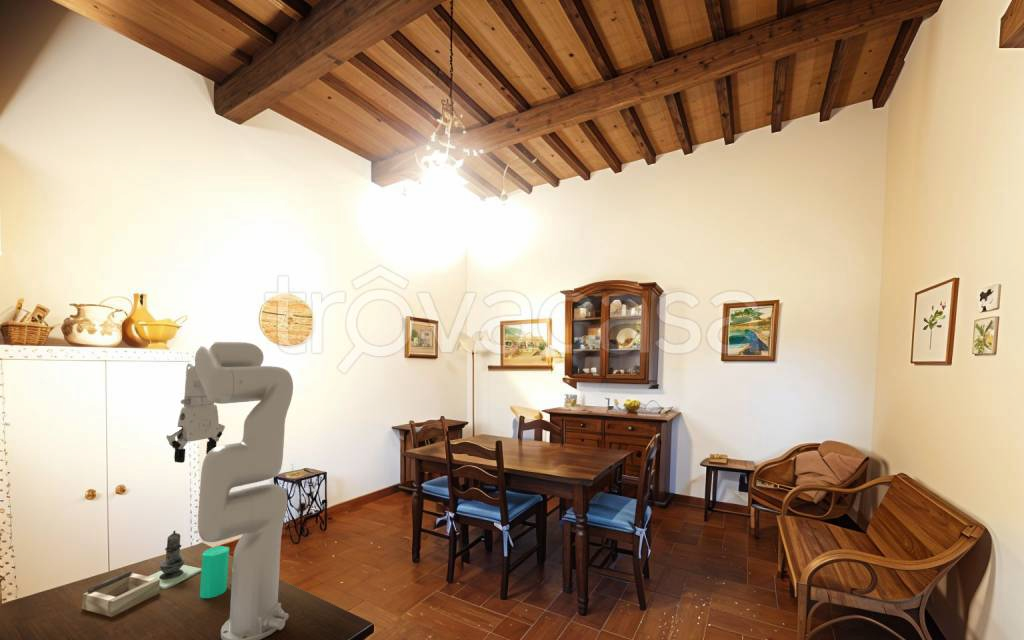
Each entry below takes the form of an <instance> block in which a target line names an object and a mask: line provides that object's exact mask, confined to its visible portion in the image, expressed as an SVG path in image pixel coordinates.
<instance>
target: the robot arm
mask: <svg viewBox="0 0 1024 640" xmlns="http://www.w3.org/2000/svg"><path fill="white" fill-rule="evenodd" d="M263 361H264V352H263V350H262V349H261V348H260V346H258V345H256V344H254V343H251V342H241V341H240V342H239V341H209V342H206V343H204V344H202V345H200V347H199V348H198V349H197V351H196V353H195V356H194V361H190V362H188V363H187V365H186V368H185V369H186V370H185V384H184V395H183V396H184V399H181V400H180V404H181V405H183V406H182V407H181V409H180V413H179V417H178V421H177V427H176V429H174V430H172V431H171V432H170V433H168V434H167V435H166V439H167V441H168V444H169V446H171V447H172V448H173V449H174V455H173V459H174V462H175V463H180V464H182V463H185V462H186V461H185V460H186V448H184V447H185V446H186V445H187V443H189V442H196V441H200V440H206V439H207V440H208V441H206V452H205V454H206V455H205V457H204V459H203V462H202V466H201V470H200V471H201V473H200V481H199V482H200V485H199V497H198V499H199V500H198V510H197V511H198V512H197V513H198V514H197V531H198V534H199V537H200V539H201V540H202V541H203V542H207V543H215V542H220V541H223V540H227V539H231V538H233V537H238V536H240V537H239V540H238V542H237V543H236V546H235V548H234V550H233V559H232V573H231V587H230V589H231V591H230V610H229V618H228V619H227V620H226V621H225V622H224V624H222V626H221V628H220V638H221V640H262V639H265V638H266V637H268V636H270V635H272V634H273V633H274V632H276V631H277V630H279V631H281V630H283V628H285V625H286V621H287V620H288V619H289V617H290V615H289V613H287V612H285V611H284V610H283V609H282V603H281V602H278V601H279V584H280V583H279V581H280V566H281V565H280V563H281V562H280V561H281V546H282V545H281V544H282V534H283V526H284V521H285V518H286V517H285V516H286V514H287V508H288V494H287V492H286V490H285V488H283V487H282V486H281V485H279V484H272V483H271V484H270V483H269V484H268V483H267V484H262V485H256V486H252V487H248V488H242V489H240V490H234V491H231V490H232V489H233V488H236V487H237V488H238V487H242V486H245V485H250V484H255V483H260V482H263V481H268V480H270V479H273V478H275V477H277V476H278V475H279V474H280V472H281V470H282V466H283V459H284V448H285V447H284V446H285V445H284V444H285V427H286V426H285V425H286V424H285V423H286V417H287V416H288V415H287V414H288V411H289V408H290V406H291V402H292V398H293V395H294V394H293V393H294V383H293V378H292V374H290V372H289V371H288V370H287V369H285V368H283V367H279V366H271V365H270V366H269V365H267V366H265V365H263V366H262V364H263ZM248 402H258V403H257V404H256V405H255V406H254V407H253V408H252V409H251V410H250V412H249V413H248V414H247V415H246V417H245V419H244V421H243V435H242V440H241V441H240V442H236V443H229V444H223V445H218V446H217V442H219V441H220V438H221V436H222V435H223V432H224V431H225V428H226V426H225V425H224V424H222V423H221V424H220V423H219V421H220V420H219V409H218V406H217V404H220V405H221V404H222V405H223V404H236V403H248ZM230 491H231V492H230Z"/></svg>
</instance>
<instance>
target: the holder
mask: <svg viewBox="0 0 1024 640" xmlns="http://www.w3.org/2000/svg"><path fill="white" fill-rule="evenodd" d="M148 576H149V575H143V574H139V573H135V572H132V570H129V571H126V572H124V573H121V574H119V575H117V576H115V577H112V578H109V579H107V580H105V581H103V582H100V583H99V584H97V585H93V586H91V587H89V588H87V591H86V592H85V593H83V594H82V602H81V603H82V605H81V609H82V610H85V611H89V612H93V613H95V614H99V615H103V616H106V617H110V618H112V617H114V616H117V615H118V614H121V613H123V612H124V611H126V610H129V609H131V608H132V607H135V606H136V605H138V604H140V603H142V602H144V601H147V600H148V599H150V598H152V597H154V596H156V595H158V594H160V588H159V586H160V579H157V578H153V577H148Z"/></svg>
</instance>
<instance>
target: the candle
mask: <svg viewBox="0 0 1024 640" xmlns="http://www.w3.org/2000/svg"><path fill="white" fill-rule="evenodd" d="M229 554H230V546H222V545H217V544H216V545H215V546H212V547H210V548H209V549H206V550H205V551H204V552H202V554H201V555H202V556H201V572H200V573H201V574H200V584H199V585H200V590H199V597H200V598H202V599H211V598H215V597H218V596H220V595H221V596H222V595H223V594H225V592H226V591H227V589H228V588H227V587H228V575H229V574H228V573H229V559H230V558H229V557H230V555H229Z"/></svg>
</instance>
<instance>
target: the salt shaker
mask: <svg viewBox="0 0 1024 640" xmlns="http://www.w3.org/2000/svg"><path fill="white" fill-rule="evenodd" d="M181 547H182V544H181V534H180V533H177V531H176V530H173V532H172V533H171V534H170V535H169V536H168V537H167V544H166V548H164V550H165V551H166V552H165V553H166V554H165V557H164V558H165V559H164V560H162V561H160V562H159V564H158V566H159V569H160V571H162V572H164V573H163V574H162V575H160V577H159V578H160V579H161V580H168V579H173V578H176V577H178V576H180V575H182V574H183V570H181V569H180V568H181V567H182V566H183V565H185V564H184V563H185V560H186V557H185V556H182V555H181V554H180V552H181Z"/></svg>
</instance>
